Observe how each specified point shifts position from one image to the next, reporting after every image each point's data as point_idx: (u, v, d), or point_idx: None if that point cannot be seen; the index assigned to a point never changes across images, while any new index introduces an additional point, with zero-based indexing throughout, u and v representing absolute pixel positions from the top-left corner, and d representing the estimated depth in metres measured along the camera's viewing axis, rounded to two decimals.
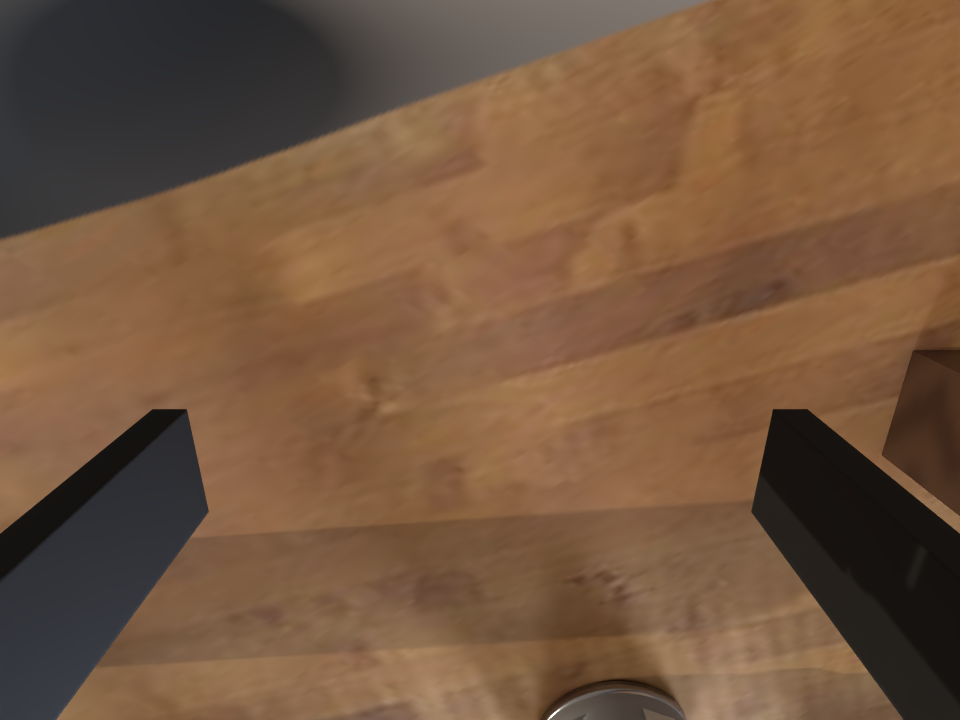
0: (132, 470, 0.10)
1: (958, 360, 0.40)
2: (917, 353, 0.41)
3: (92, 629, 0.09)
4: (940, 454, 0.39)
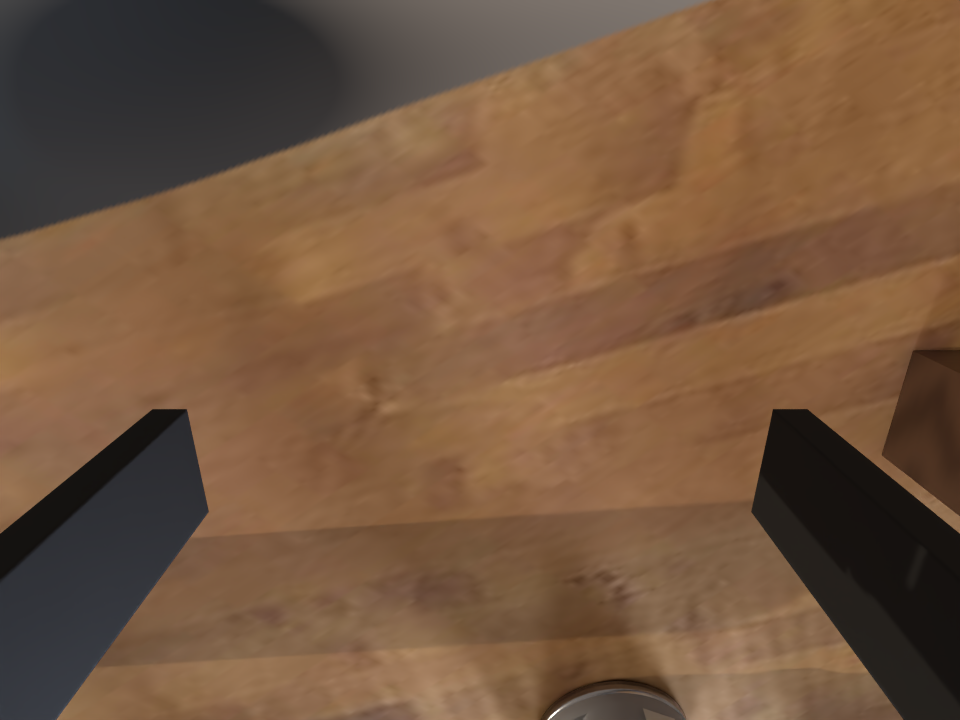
0: (132, 470, 0.10)
1: (958, 360, 0.40)
2: (917, 353, 0.41)
3: (92, 629, 0.09)
4: (940, 454, 0.39)
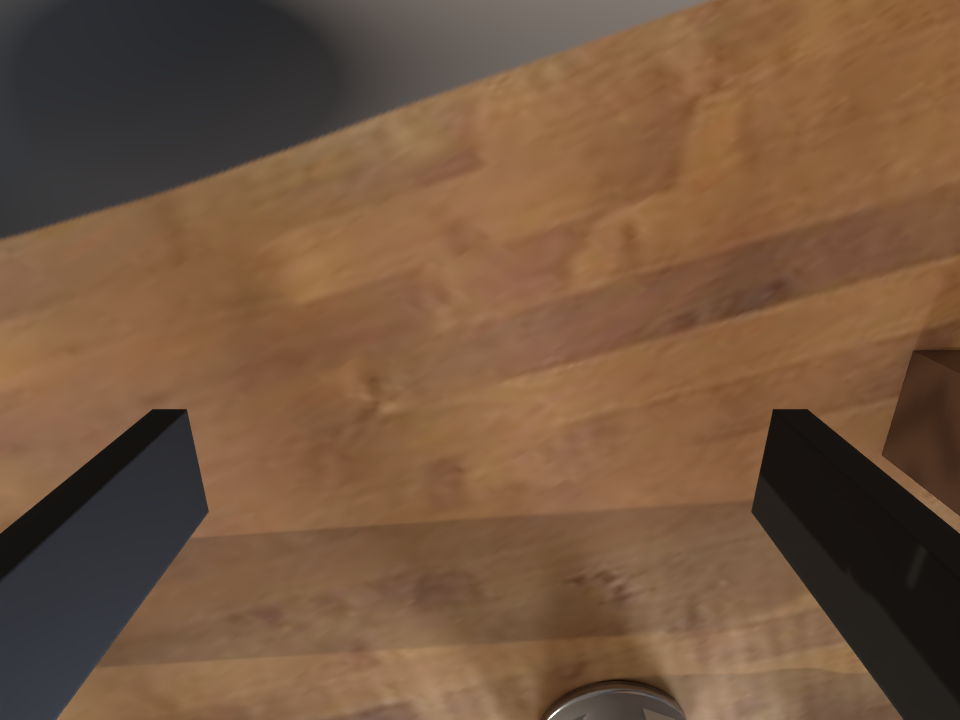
0: (132, 470, 0.10)
1: (958, 360, 0.40)
2: (917, 353, 0.41)
3: (92, 629, 0.09)
4: (940, 454, 0.39)
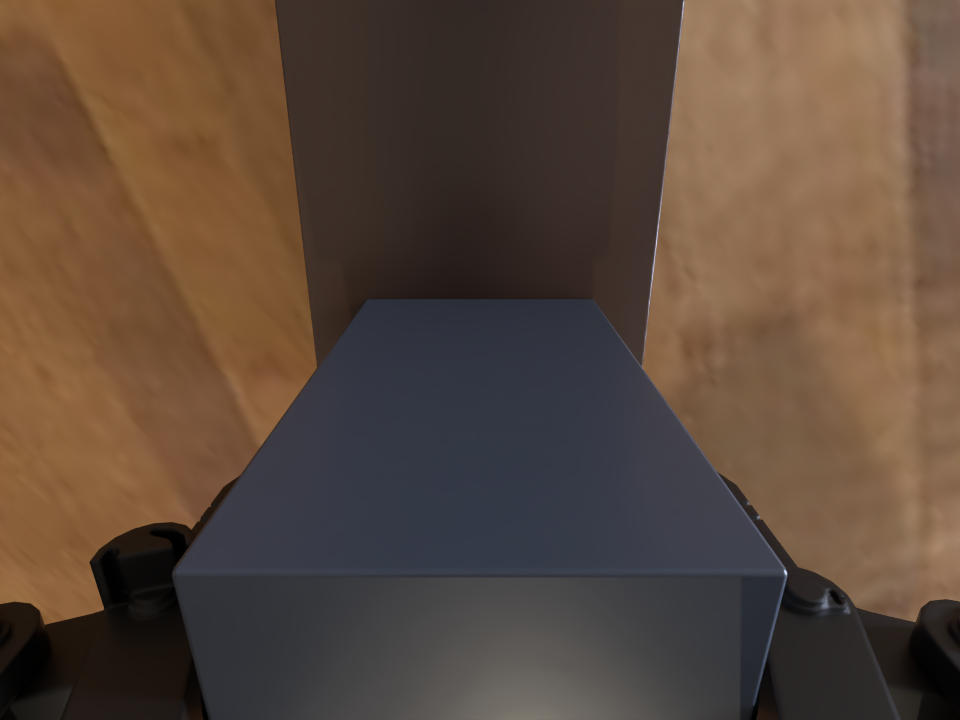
0: None
1: None
2: None
3: None
4: None
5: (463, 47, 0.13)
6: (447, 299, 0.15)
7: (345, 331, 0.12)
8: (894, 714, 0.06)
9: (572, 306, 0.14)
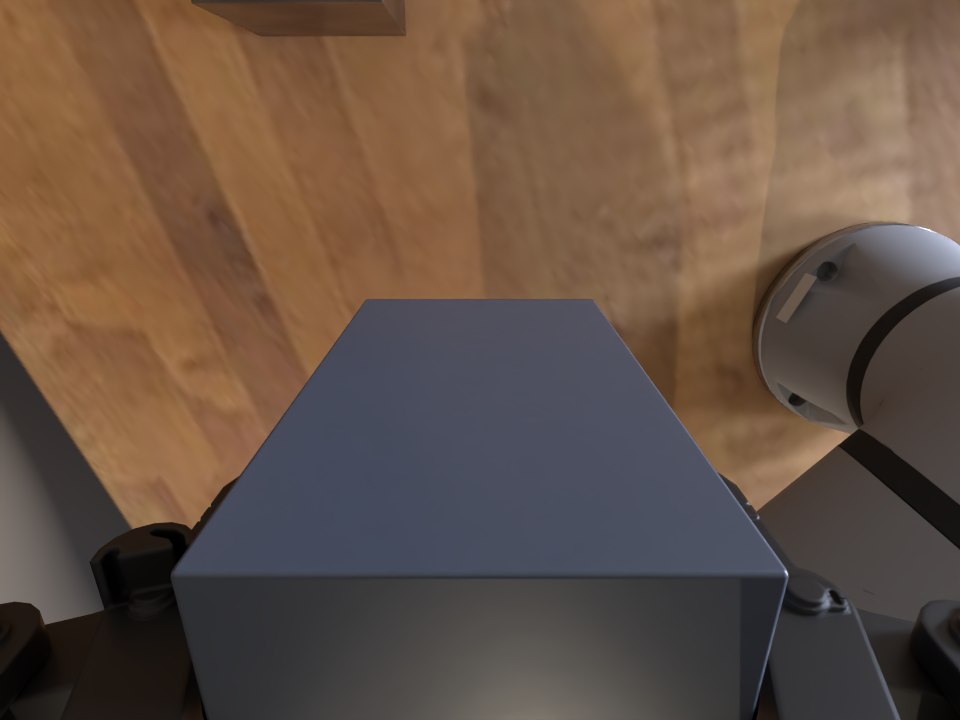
0: None
1: None
2: None
3: None
4: (337, 19, 0.30)
5: None
6: (447, 299, 0.15)
7: (345, 331, 0.12)
8: (895, 714, 0.06)
9: (572, 306, 0.14)
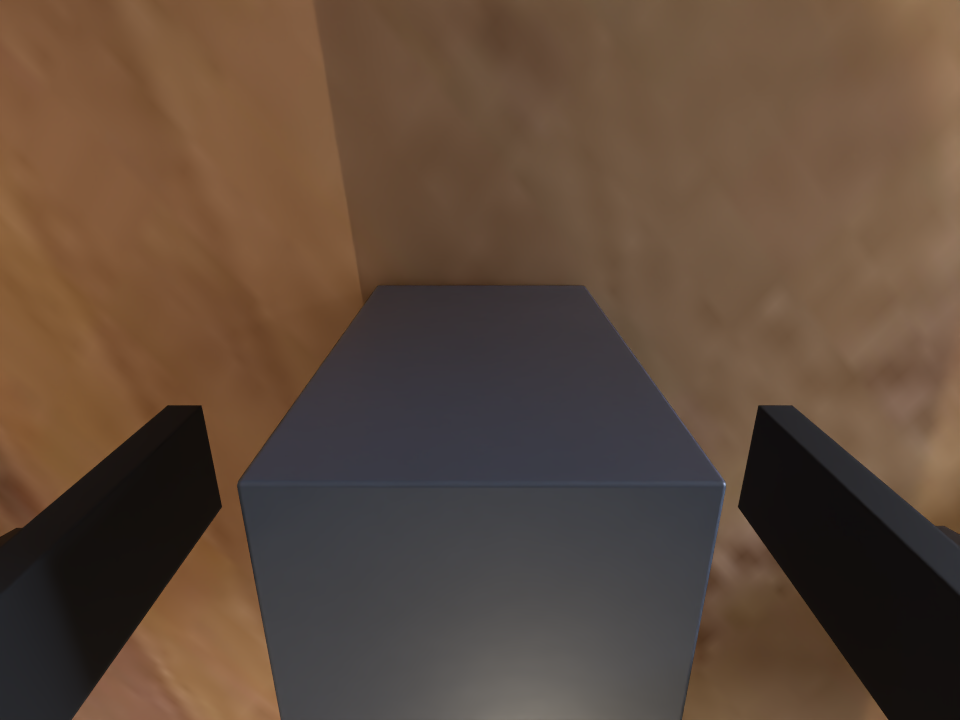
0: (150, 465, 0.11)
1: None
2: None
3: (113, 620, 0.09)
4: None
5: None
6: None
7: (360, 312, 0.14)
8: None
9: (565, 291, 0.15)
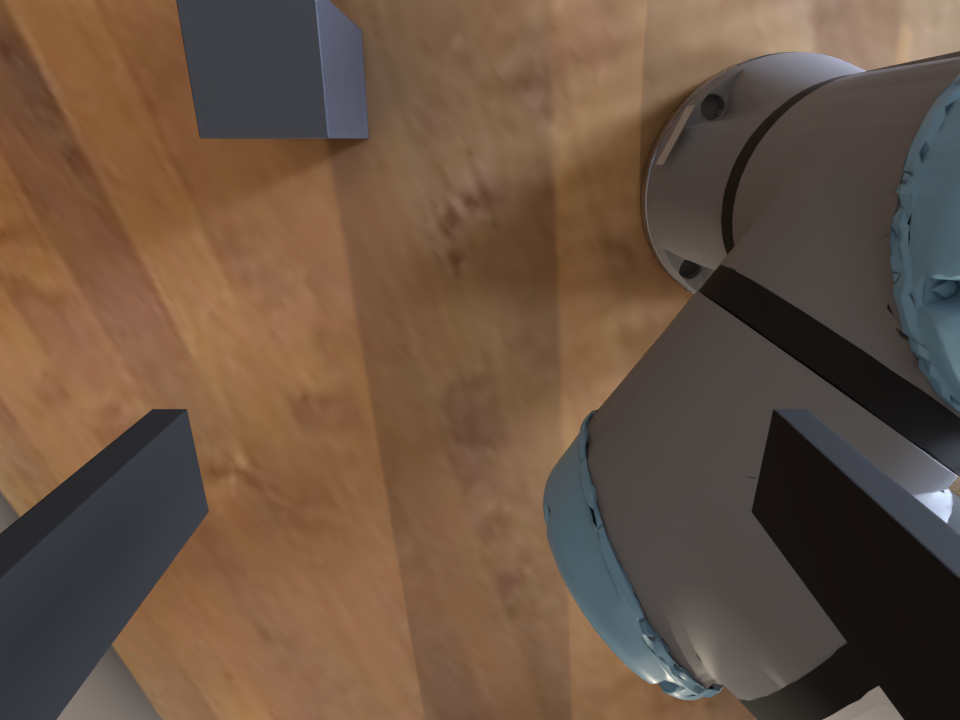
0: (133, 470, 0.10)
1: None
2: None
3: (92, 629, 0.09)
4: None
5: None
6: None
7: None
8: None
9: None
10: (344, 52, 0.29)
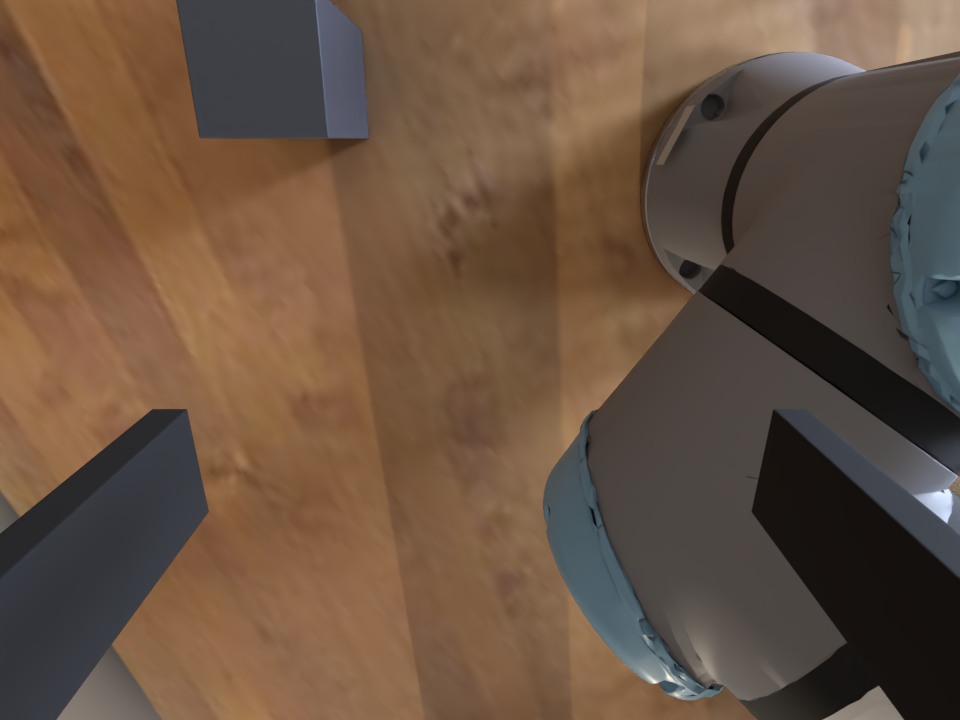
0: (133, 470, 0.10)
1: None
2: None
3: (92, 629, 0.09)
4: None
5: None
6: None
7: None
8: None
9: None
10: (344, 52, 0.29)
